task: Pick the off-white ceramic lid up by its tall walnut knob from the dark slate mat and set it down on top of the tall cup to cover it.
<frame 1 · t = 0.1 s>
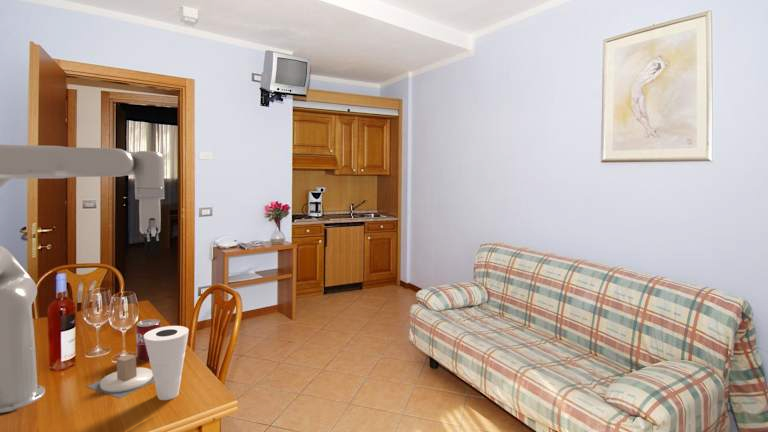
hand: (151, 251, 124), 37 cm above the table, tool pointing down, fingers open, 9 cm apart
cup: (168, 397, 114), on the table
lid: (127, 381, 121), point 1 cm above the table, touching mat
mat: (127, 382, 121), on the table
soda can: (149, 358, 138), on the table
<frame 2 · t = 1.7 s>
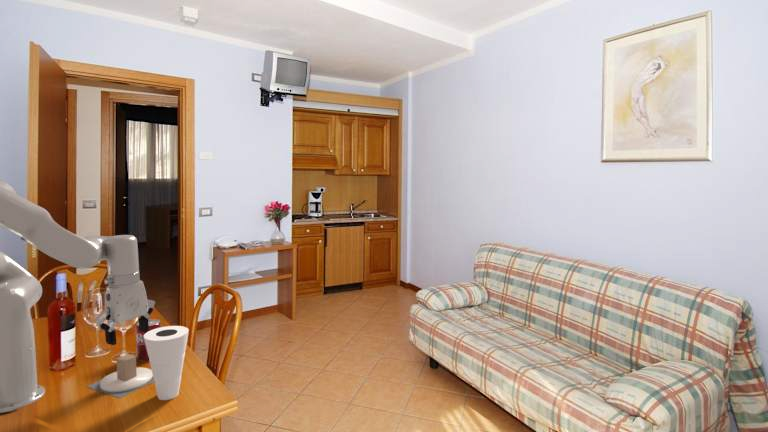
hand: (128, 337, 120), 13 cm above the table, tool pointing down, fingers open, 9 cm apart
nothing on the table moved.
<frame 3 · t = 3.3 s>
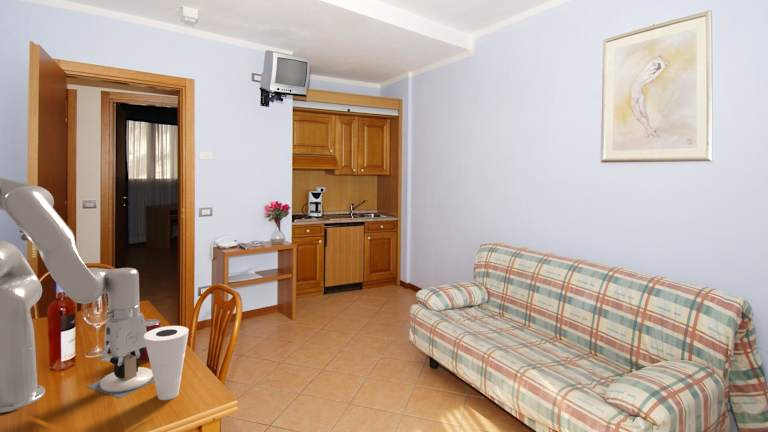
hand: (126, 373, 121), 3 cm above the table, tool pointing down, fingers closed on lid, 3 cm apart
lid: (127, 380, 121), point 1 cm above the table, touching gripper
everything else where it was.
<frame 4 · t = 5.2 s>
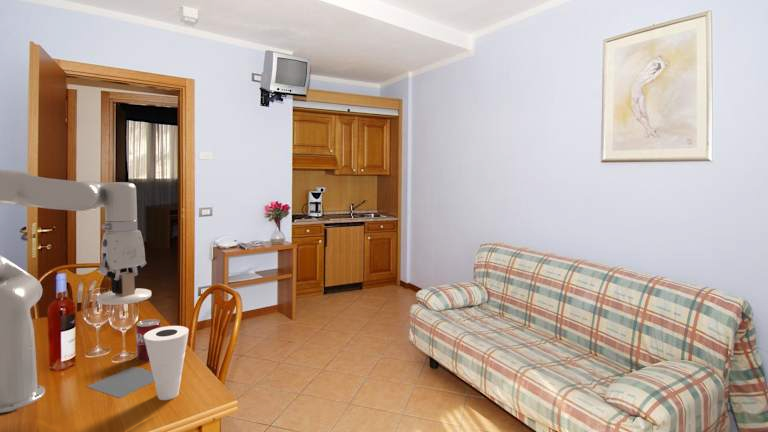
hand: (124, 290, 119), 27 cm above the table, tool pointing down, fingers closed on lid, 3 cm apart
lid: (125, 297, 119), point 25 cm above the table, touching gripper
everything else where it was.
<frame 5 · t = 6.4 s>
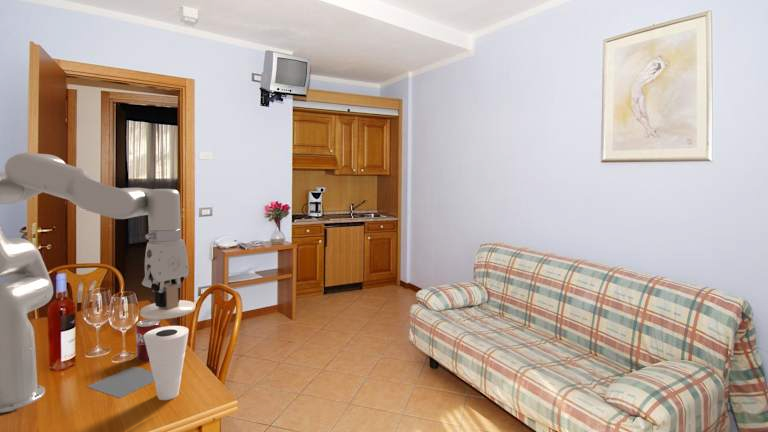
hand: (167, 303, 112), 26 cm above the table, tool pointing down, fingers closed on lid, 3 cm apart
lid: (168, 311, 112), point 24 cm above the table, touching gripper
everything else where it was.
when the fingers open (22 cm above the table, at t = 7.1 s): lid drops 2 cm, resting on cup.
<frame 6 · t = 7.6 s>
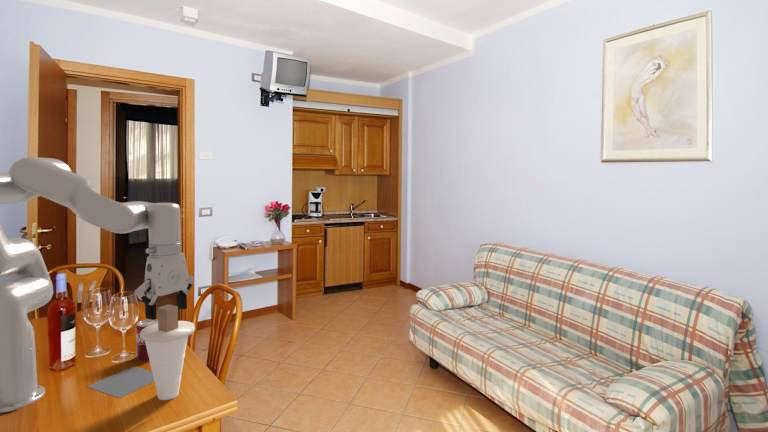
hand: (167, 313, 112), 23 cm above the table, tool pointing down, fingers open, 9 cm apart
cup: (168, 397, 114), on the table, touching lid
lid: (168, 332, 113), point 18 cm above the table, touching cup
everything else where it was.
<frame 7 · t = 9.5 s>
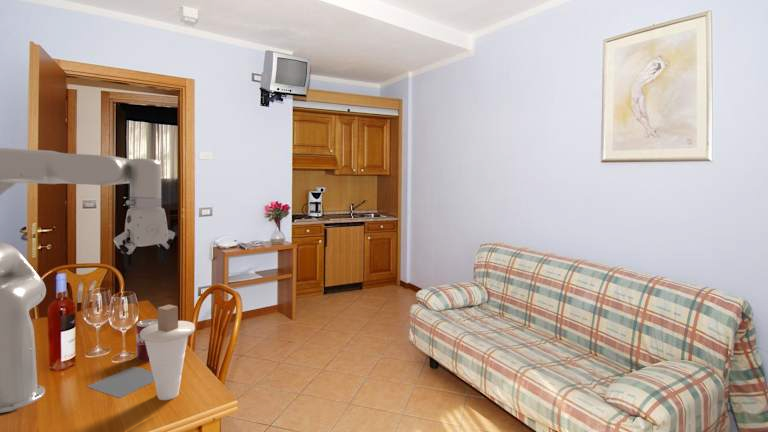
hand: (146, 265, 117), 35 cm above the table, tool pointing down, fingers open, 9 cm apart
nothing on the table moved.
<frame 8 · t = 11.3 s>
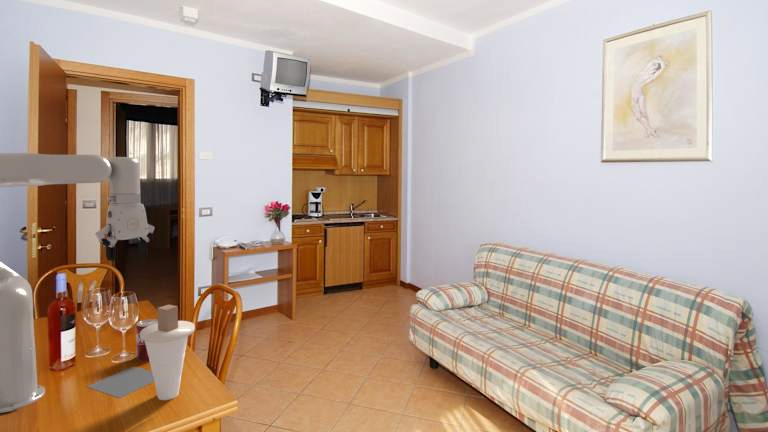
hand: (127, 257, 124), 35 cm above the table, tool pointing down, fingers open, 9 cm apart
nothing on the table moved.
at the end: lid inside the target area on the cup (0.4 cm from its centre), point 18.2 cm above the cup's base; lid tilted 0°; cup tilted 0° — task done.
